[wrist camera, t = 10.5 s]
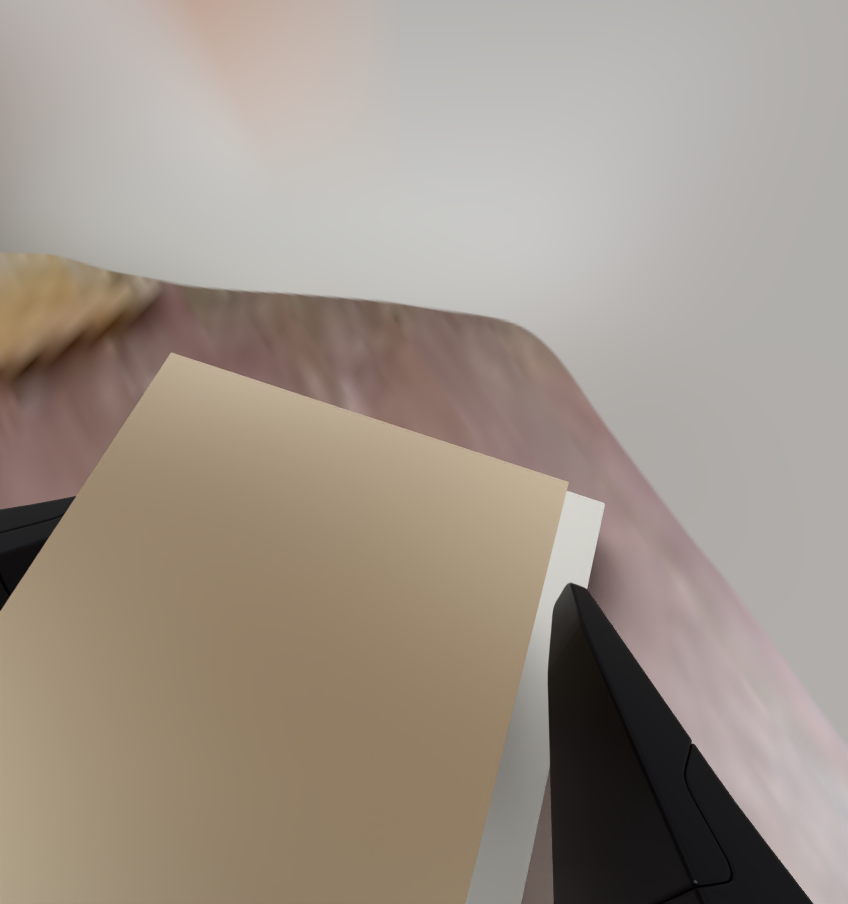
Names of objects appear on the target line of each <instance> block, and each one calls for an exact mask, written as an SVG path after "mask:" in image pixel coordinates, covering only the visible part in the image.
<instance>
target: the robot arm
mask: <svg viewBox="0 0 848 904" xmlns="http://www.w3.org/2000/svg"><path fill="white" fill-rule="evenodd" d="M75 498H76V496H74V497H69V498H64V499H59V500H53V501H48V502H42V503H37V504H31V505H25V506H19V507H13V508H7V509H0V611H1V610H2V608H3V607H4V605H5V603H6V602H7V600H8V599H9V597H10V596H11V594H12V593H13V591H14V590H15V588H16V587H17V585H18V584H19V582H20V581H21V579H22V578H23V576H24V575H25V573H26V572H27V570H28V569H29V567H30V566H31V564H32V563H33V561H34V560H35V558H36V557H37V555H38V554H39V552H40V551H41V549H42V547H43V546H44V544H45V543H46V541H47V540H48V538H49V537H50V535H51V534H52V532H53V531H54V529H55V528H56V526H57V525H58V523H59V522H60V520H61V519H62V517H63V516H64V514H65V513H66V511H67V510H68V508H69V507H70V505H71V504H72V502H73V501H74V499H75ZM548 715H549V751H550V787H551V823H552V858H553V894H554V904H813V903H812V901H811V900H810V899H809V897H808V896H807V895H806V894H805V892H804V891H803V890H802V888H801V887H800V886H799V885H798V883H797V882H796V881H795V879H794V878H793V877H792V875H791V874H790V873H789V872H788V870H787V869H786V868H785V866H784V865H783V864H782V863H781V861H780V860H779V859H778V857H777V856H776V855H775V853H774V852H773V851H772V850H771V848H770V847H769V846H768V844H767V843H766V842H765V840H764V839H763V838H762V836H761V835H760V834H759V832H758V831H757V830H756V828H755V827H754V826H753V824H752V823H751V822H750V821H749V819H748V818H747V817H746V815H745V814H744V813H743V811H742V810H741V809H740V807H739V806H738V805H737V803H736V802H735V800H734V799H733V798H732V796H731V795H730V794H729V792H728V791H727V789H726V788H725V787H724V785H723V784H722V782H721V781H720V780H719V778H718V777H717V775H716V774H715V773H714V771H713V770H712V768H711V767H710V766H709V764H708V763H707V761H706V760H705V758H704V757H703V755H702V754H701V753H700V751H699V750H698V748H697V747H696V745H694V744H691V743H692V740H691V738H690V737H689V735H688V734H687V733H686V731H685V730H684V728H683V727H682V725H681V724H680V722H679V721H678V720H677V718H676V717H675V715H674V714H673V712H672V711H671V710H670V708H669V707H668V705H667V704H666V702H665V701H664V699H663V698H662V697H661V695H660V694H659V692H658V691H657V689H656V688H655V686H654V685H653V684H652V682H651V681H650V679H649V678H648V676H647V675H646V673H645V672H644V671H643V669H642V668H641V666H640V665H639V663H638V662H637V660H636V659H635V658H634V656H633V655H632V653H631V652H630V650H629V649H628V648H627V646H626V645H625V643H624V642H623V640H622V639H621V637H620V636H619V635H618V633H617V632H616V630H615V629H614V627H613V626H612V624H611V623H610V622H609V620H608V619H607V617H606V616H605V614H604V613H603V611H602V610H601V609H600V607H599V606H598V604H597V603H596V601H595V600H594V598H593V597H592V596H591V594H590V593H589V591H588V590H587V589H586V588H585V587H583V586H580V585H577V584H574V583H568V584H567V585H566V586H565V587H564V589H563V591H562V592H561V594H560V596H559V597H558V599H557V601H556V602H555V605H554V608H553V613H552V624H551V636H550V647H549V659H548Z"/></svg>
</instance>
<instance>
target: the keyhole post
mask: <svg viewBox="0 0 848 904" xmlns="http://www.w3.org/2000/svg"><path fill="white" fill-rule="evenodd" d="M568 483H569V482H566V481H563V480H560V479H557V478H554V477H551V476H548V475H545V474H542V473H539V472H536V471H533V470H530V469H527V468H523V467H520V466H517V465H514V464H511V463H508V462H505V461H502V460H499V459H496V458H493V457H490V456H487V455H484V454H481V453H477V452H474V451H471V450H468V449H465V448H462V447H459V446H456V445H453V444H450V443H447V442H444V441H441V440H438V439H435V438H432V437H428V436H425V435H422V434H419V433H416V432H413V431H410V430H407V429H404V428H401V427H398V426H395V425H392V424H389V423H386V422H382V421H379V420H376V419H373V418H370V417H367V416H364V415H361V414H358V413H355V412H352V411H349V410H346V409H343V408H340V407H336V406H333V405H330V404H327V403H324V402H321V401H318V400H315V399H312V398H309V397H306V396H303V395H300V394H297V393H294V392H291V391H287V390H284V389H281V388H278V387H275V386H272V385H269V384H266V383H263V382H260V381H257V380H254V379H251V378H248V377H245V376H241V375H238V374H235V373H232V372H229V371H226V370H223V369H220V368H217V367H214V366H211V365H208V364H205V363H202V362H199V361H195V360H192V359H189V358H186V357H183V356H180V355H177V354H174V353H171V354H170V355H169V357H168V358H167V360H166V361H165V363H164V364H163V366H162V367H161V369H160V370H159V372H158V373H157V375H156V376H155V378H154V379H153V381H152V382H151V384H150V385H149V387H148V388H147V390H146V392H145V393H144V395H143V396H142V398H141V399H140V401H139V402H138V404H137V405H136V407H135V408H134V410H133V411H132V413H131V414H130V416H129V417H128V419H127V420H126V422H125V423H124V425H123V426H122V428H121V429H120V431H119V432H118V434H117V435H116V437H115V438H114V440H113V441H112V443H111V445H110V446H109V448H108V449H107V451H106V452H105V454H104V455H103V457H102V458H101V460H100V461H99V463H98V464H97V466H96V467H95V469H94V470H93V472H92V473H91V475H90V476H89V478H88V479H87V481H86V482H85V484H84V485H83V487H82V488H81V490H80V491H79V493H78V494H77V496H76V498H75V499H74V501H73V502H72V504H71V505H70V507H69V508H68V510H67V511H66V513H65V514H64V516H63V517H62V519H61V520H60V522H59V523H58V525H57V526H56V528H55V529H54V531H53V532H52V534H51V535H50V537H49V538H48V540H47V541H46V543H45V544H44V546H43V547H42V549H41V551H40V552H39V554H38V555H37V557H36V558H35V560H34V561H33V563H32V564H31V566H30V567H29V569H28V570H27V572H26V573H25V575H24V576H23V578H22V579H21V581H20V582H19V584H18V585H17V587H16V588H15V590H14V591H13V593H12V594H11V596H10V597H9V599H8V600H7V602H6V603H5V605H4V607H3V608H2V610H1V611H0V904H465V903H466V899H467V895H468V891H469V887H470V883H471V879H472V875H473V871H474V867H475V863H476V859H477V855H478V850H479V846H480V842H481V838H482V834H483V830H484V826H485V822H486V818H487V814H488V810H489V806H490V802H491V797H492V793H493V789H494V785H495V781H496V777H497V773H498V769H499V765H500V761H501V757H502V753H503V748H504V744H505V740H506V736H507V732H508V728H509V724H510V720H511V716H512V712H513V708H514V704H515V700H516V695H517V691H518V687H519V683H520V679H521V675H522V671H523V667H524V663H525V659H526V655H527V651H528V647H529V642H530V638H531V634H532V630H533V626H534V622H535V618H536V614H537V610H538V606H539V602H540V598H541V593H542V589H543V585H544V581H545V577H546V573H547V569H548V565H549V561H550V557H551V553H552V549H553V545H554V540H555V536H556V532H557V528H558V524H559V520H560V516H561V512H562V508H563V504H564V500H565V496H566V492H567V487H568Z"/></svg>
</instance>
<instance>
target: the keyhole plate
mask: <svg viewBox="0 0 848 904" xmlns="http://www.w3.org/2000/svg"><path fill="white" fill-rule="evenodd" d="M604 506H605V503H602V502H599V501H596V500H593V499H590V498H587V497H584V496H581V495H578V494H575V493H572V492H569V491H567V492H566V496H565V500H564V504H563V508H562V512H561V516H560V520H559V524H558V528H557V532H556V536H555V540H554V545H553V549H552V553H551V557H550V561H549V565H548V569H547V573H546V577H545V581H544V585H543V589H542V593H541V598H540V602H539V606H538V610H537V614H536V618H535V622H534V626H533V630H532V634H531V638H530V642H529V647H528V651H527V655H526V659H525V663H524V667H523V671H522V675H521V679H520V683H519V687H518V691H517V695H516V700H515V704H514V708H513V712H512V716H511V720H510V724H509V728H508V732H507V736H506V740H505V744H504V748H503V753H502V757H501V761H500V765H499V769H498V773H497V777H496V781H495V785H494V789H493V793H492V797H491V802H490V806H489V810H488V814H487V818H486V822H485V826H484V830H483V834H482V838H481V842H480V846H479V850H478V855H477V859H476V863H475V867H474V871H473V875H472V879H471V883H470V887H469V891H468V895H467V899H466V903H465V904H521V902H522V898H523V893H524V888H525V883H526V878H527V874H528V869H529V864H530V859H531V855H532V850H533V845H534V840H535V835H536V831H537V826H538V821H539V816H540V812H541V807H542V802H543V797H544V792H545V788H546V783H547V778H548V773H549V769H550V751H549V715H548V659H549V647H550V636H551V624H552V613H553V608H554V605H555V602H556V601H557V599H558V597H559V596H560V594H561V592H562V591H563V589H564V587H565V586H566V585H567V584H568V583H574V584H577V585H580V586H583V587H585V588H586V589H587V587H588V582H589V578H590V573H591V568H592V563H593V558H594V554H595V549H596V544H597V539H598V535H599V530H600V525H601V520H602V515H603V511H604Z"/></svg>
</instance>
